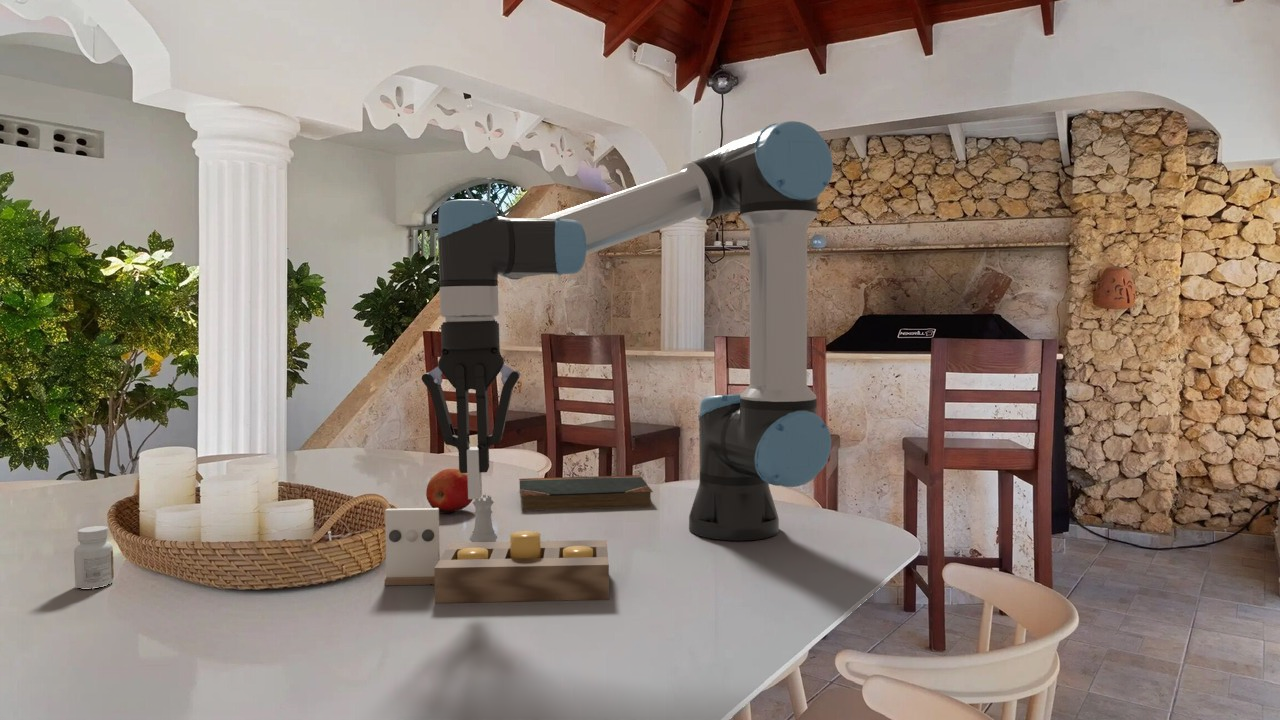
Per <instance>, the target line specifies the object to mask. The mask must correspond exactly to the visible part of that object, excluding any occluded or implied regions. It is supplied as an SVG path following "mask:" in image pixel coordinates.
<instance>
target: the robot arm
mask: <svg viewBox="0 0 1280 720" xmlns="http://www.w3.org/2000/svg"><path fill="white" fill-rule="evenodd" d="M833 162H834V161H833V155H832V153H831V150H830V147H829V145H828V143H827V141H826V140H825V138H824V137H822V136H821V135H820V134H819V132H818V131H817V130H816V129H815V128H814V127H812V126H810V125H809V124H806V123H805V122H801V121H795V120H791V121H790V120H789V121H784V122H780V123H771V124H769V125H767V126H765V127H764V128H762V129H760V130H759V129H758V130H757V131H755V132H752V133H750V134H747V135H745V136H741V137H739V138H736V139H734V140H732V141H730V142H729V143H727V144H725V145H723V146H721V147H719V148H718V149H716V150H714V151H711V152H709V153H708V154H705V155H703V156H701V157H699V158H696V159H693V160H691V161H689V162H685V163H683V164H682V166H681V169H680V171H678V172H676V173H675V172H674V173H671V174H668V175H666V176H662V177H659V178H657V179H653V180H651V181H648V182H645V183H642V184H639V185H636V186H635V185H634V186H633V187H630V188H627V189H624V190H621V191H617V192H615V193H612V194H609V195H605V196H603V197H600V198H598V199H594V200H590V201H588V202H584V203H582V204H579V205H576V206H573V207H569V208H566V209H564V210H561V211H558V212H555V213H551V214H549V215H546V216H542V217H541V218H538V217H537V218H533V217H532V218H529V217H528V218H526V217H525V218H524V217H522V218H516V217H504V216H498V213H497V209H496V204H495V203H493V202H492V201H491V200H485V199H484V200H481V199H474V198H473V199H472V198H471V199H469V198H468V199H467V198H466V199H463V198H462V199H452V200H447V201H445V202H444V203H442V204H441V205H440V206H439V208H438V223H437V224H438V225H437V226H438V228H437V236H436V238H437V239H436V240H437V245H438V246H437V247H438V249H437V250H438V269H439V306H440V308H439V309H440V310H439V313H440V315H439V316H441V318H444V320H445V321H443V322H442V323H441V324H440V333H441V335H440V337H441V338H440V339H441V340H440V341H441V343H440V344H441V354H440V358H439V360H438V363H437V366H436V367H435V368H433V369H432V370H430V371H428V372H426V373H424V374H423V375H422V376H421V381H422V383H423V384H424V385H425V387H426V388H427V389H428V391H429V393H430V397H431V400H432V403H433V407H434V410H435V416H436V419H437V422H438V425H439V428H440V433H441V436H442V440H443V443H444V444H445V445H446V446H452V447H455V448H456V449H457V451H458V469H459V470H460V473H467V477H468V499H473V500H475V499H480V497H481V498H482V496H483V483H482V473H488V471H489V469H490V447H491V446H494V445H497V444H499V443H500V442H501V441H502V439H503V436H504V431H505V427H506V421H507V417H508V412H509V409H510V403H511V401H512V395H513V390H514V387H515V385H516V384H517V383H518V380H519V379H520V377H521V373H520V371H518V370H514V369H513V368H511V367H510V366H508V365H507V364H505V361H504V358H503V356H502V354H501V351H500V350H501V349H500V347H501V346H500V343H501V342H500V323H499V322H498V320H496V318H495V317H498V316H499V315H500V314H499V313H500V312H499V311H500V310H499V287H498V286H499V281H498V280H499V279H498V278H499V276H501V277H503V278H506V279H509V280H520V279H521V278H525V277H535V276H541V275H558V276H563V275H572V274H574V275H575V274H578V273H579V272H580V271H582V269H583V267H584V265H585V262H586V259H587V258H586V257H587V255H591V254H594V253H595V252H598V251H602V250H605V249H607V248H610V247H613V246H616V245H618V244H621V243H625V242H628V241H630V240H633V239H636V238H639V237H641V236H644V235H645V236H646V235H647V234H650V233H652V232H656V231H659V230H661V229H665V228H667V227H670V226H673V225H676V224H679V223H682V222H684V221H687V220H690V219H693V218H695V219H697V220H700V221H705V220H708V219H711V218H714V217H719V216H723V215H726V214H727V215H728V214H734V213H739V218H740V219H741V220H742V221H743V222H744V224H746V226H747V227H748V228H749V384H748V387H746V389H744V391H743V392H742V393H739V394H736V393H735V394H722V395H721V394H720V395H710V396H708V395H707V396H705V397H704V398H702V400H701V401H700V405H699V415H698V421H699V425H698V426H699V427H698V428H699V430H698V431H699V432H698V433H699V436H698V437H699V438H698V439H699V440H698V441H699V444H698V445H699V451H698V452H699V484H698V487H697V491H696V494H695V497H694V500H693V503H692V505H691V509H690V512H689V516H688V517H689V518H688V530H689V531H690V532H691V533H692V534H694V535H696V536H700V537H704V538H707V539H714V540H720V541H721V540H723V541H739V542H740V541H756V540H762V539H767V538H770V537H774V536H775V535H777V534H778V533H779V531H780V529H779V528H780V526H779V525H780V519H779V513H778V512H777V511H778V510H777V508H776V506H775V502H774V499H773V495H772V492H771V489H770V485H773V486H776V487H777V486H780V487H786V488H796V487H800V486H803V485H806V484H808V483H810V482H812V480H814V479H815V478H816V477H817V476H818V474H819V473H821V472H822V471H823V469H824V468H825V467H826V465H827V463H828V460H829V458H830V454H831V449H832V437H831V436H832V435H831V431H830V429H829V426H828V425H827V424H825V422H824V420H823V419H822V418H821V417H820V416H818V415H817V412H818V411H817V409H818V408H817V406H818V405H817V401H818V400H817V399H818V398H817V395H816V394H815V393H814V392H813V390H812V389H811V388H810V387H809V386H808V384H807V381H808V379H807V377H808V373H807V372H808V371H807V367H808V364H807V362H808V361H807V359H808V358H807V357H808V356H807V355H808V353H807V352H808V351H807V350H808V348H807V347H808V343H807V342H808V341H807V340H808V333H807V332H808V328H807V327H808V323H807V322H808V318H807V317H808V302H807V301H808V227H809V226H810V224H811V223H812V222H813V221H814V220H815V219H816V218H817V216H818V205H819V204H818V202H819V201H818V198H819V196H820V195H821V194H822V193H823V192H824V191H825V189H826V187H827V186H828V185H830V184H829V183H830V182H831V180H832V176H833V171H834V170H833V168H834V164H833ZM499 373H500V374H501V376H500V377H501V378H500V381H501V383H503V386H502V389H501V391H500V393H501V394H500V398H499V402H498V406H497V412H496V415H495V421H494V424H493V425H494V426H493V429H492V434H490V433H489V432H490V431H489V430H490V428H489V401H488V400H489V399H488V398H489V397H488V396H489V395H488V394H489V387H490V386H491V385H492V384H493V383H494V381H495V380H496V378H497V376H498V375H499ZM442 375H444V377H445V378H446V380H448V382H449V384H451V385H452V388H453V389H455V399H456V424H457V425H456V429H457V430H456V432H457V434H456V433H455V430H454V429H455V428H454V426H453V422H452V418H451V414H450V411H449V408H448V404H447V401H446V397H445V394H444V390H443V387H442V385H441V384H442V383H443V377H442ZM451 385H450V386H451ZM469 390H474V391H475V399H476V401H475V402H476V430H477V431H476V432H477V435H476V436H477V445H476V446H470V444H471V441H470V411H469V410H470V408H469V404H470V403H469V395H470V391H469Z"/></svg>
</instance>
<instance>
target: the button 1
mask: <svg viewBox="0 0 1280 720" xmlns="http://www.w3.org/2000/svg"><path fill="white" fill-rule="evenodd" d="M457 556H458V560H467V559H488V550H487V549H484V548H466V549H462V550H459V551H458V552H457Z"/></svg>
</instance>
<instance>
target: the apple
mask: <svg viewBox="0 0 1280 720" xmlns="http://www.w3.org/2000/svg"><path fill="white" fill-rule="evenodd" d="M425 491H426V493H425V494H426V495H425V496H426V500H427V502H428V504H429V506H431V508H439V513H443V514H449V513H454V512H457V511H460V510H463V509H465V508H466V507H468V506H469V505H470V504H471V503H473V502H472V501H474V499H468V477H467V473H460V470H459V468H445V469H441V470H440V471H439V472H436V473H435V474H434V475H433V476H432V477H431V478H430V479H429V481H428V483H427V485H426V490H425Z"/></svg>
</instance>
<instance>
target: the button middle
mask: <svg viewBox="0 0 1280 720" xmlns="http://www.w3.org/2000/svg"><path fill="white" fill-rule="evenodd" d="M509 537H510V538H509V539H510V541H509V542H510V558H511V559H524V558H541V546H540V541H541V533H540V532H538V531H535V530H534V531H532V530H522V531H521V530H520V531H515V532H513V533H511V534H510V536H509Z"/></svg>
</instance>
